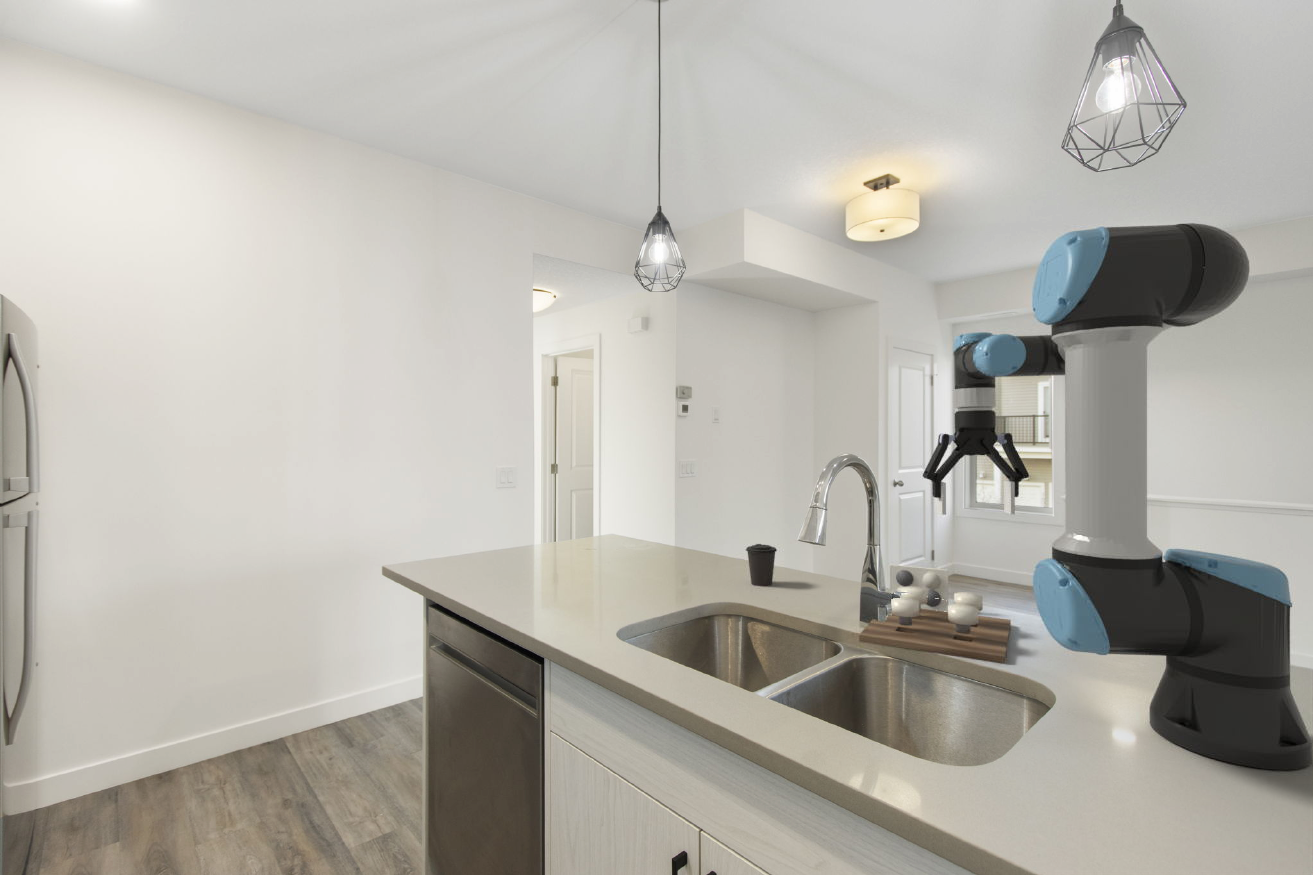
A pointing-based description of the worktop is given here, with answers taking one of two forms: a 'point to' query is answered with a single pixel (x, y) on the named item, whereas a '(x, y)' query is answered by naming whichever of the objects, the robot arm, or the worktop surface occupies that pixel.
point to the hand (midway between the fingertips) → (975, 513)
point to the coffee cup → (761, 564)
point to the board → (943, 635)
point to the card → (922, 584)
